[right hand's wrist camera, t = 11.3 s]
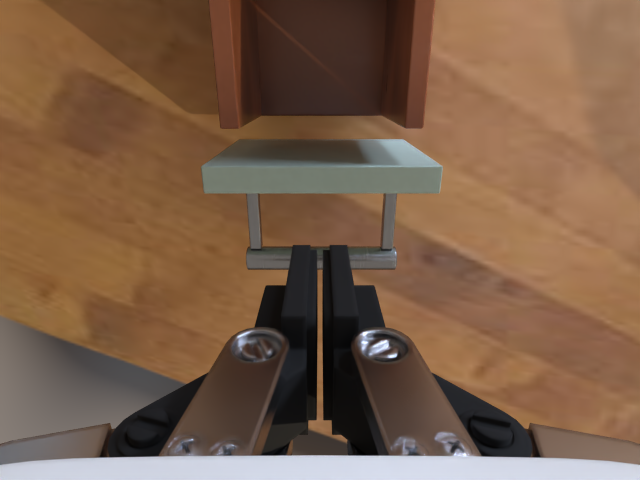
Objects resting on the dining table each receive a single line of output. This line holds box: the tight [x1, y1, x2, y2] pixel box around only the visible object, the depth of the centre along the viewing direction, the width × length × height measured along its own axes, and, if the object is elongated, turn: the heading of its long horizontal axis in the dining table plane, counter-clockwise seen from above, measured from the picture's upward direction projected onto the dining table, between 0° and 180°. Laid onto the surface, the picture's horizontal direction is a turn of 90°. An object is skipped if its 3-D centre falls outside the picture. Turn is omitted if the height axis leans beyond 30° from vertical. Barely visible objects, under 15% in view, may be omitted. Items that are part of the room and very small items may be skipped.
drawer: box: [201, 0, 443, 270], centre depth 18 cm, size 24×10×8 cm, turn 0°
